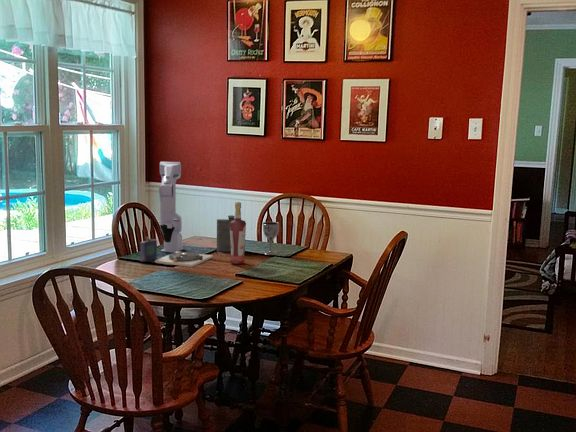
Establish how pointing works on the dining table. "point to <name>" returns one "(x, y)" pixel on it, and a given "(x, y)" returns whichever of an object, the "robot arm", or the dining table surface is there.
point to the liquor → (237, 237)
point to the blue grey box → (148, 249)
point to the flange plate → (183, 256)
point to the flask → (224, 234)
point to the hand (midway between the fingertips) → (167, 241)
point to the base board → (184, 263)
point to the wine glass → (270, 234)
